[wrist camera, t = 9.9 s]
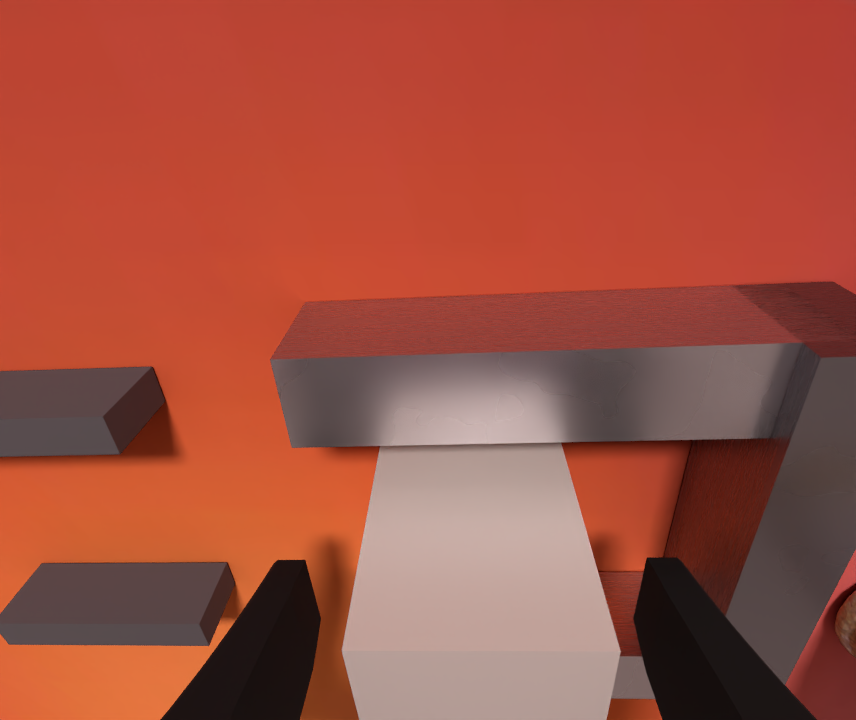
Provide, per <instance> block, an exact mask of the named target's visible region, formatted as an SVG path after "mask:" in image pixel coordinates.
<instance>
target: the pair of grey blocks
mask: <svg viewBox="0 0 856 720" xmlns="http://www.w3.org/2000/svg"><path fill="white" fill-rule="evenodd" d="M164 402H165V399H164V397H163V394H162V391H161V389H160V386H159V383H158V381H157V378H156V376H155V373H154V370H153V368H152V367H124V368H92V369H60V370H28V371H0V457H9V456H61V455H112V454H121V453H122V452H123V450H124V449H125V448H126V447H127V446H128V445H129V443H130V442H131V441H132V440H133V439H134V437H135V436H136V435H137V434H138V433H139V432H140V430H141V429H142V428H143V427H144V426H145V424H146V423H147V422H148V421H149V420H150V419H151V417H152V416H153V415H154V414H155V413H156V412H157V410H158V409H159V408H160V407H161V406H162V404H163V403H164ZM234 585H235V582H234V580H233V577H232V574H231V572H230V569H229V567H228V564H227V563H42V564H41V565H40V566H39V567H38V568H37V570H36V571H35V572H34V573H33V575H32V576H31V577H30V578H29V579H28V581H27V582H26V583H25V584H24V586H23V587H22V588H21V589H20V590H19V592H18V593H17V594H16V595H15V596H14V598H13V599H12V600H11V601H10V603H9V604H8V605H7V606H6V607H5V609H4V610H3V611H2V612H1V614H0V634H1V635H2V636H3V638H4V639H5V640H6V641H7V643H8V644H10V645H163V646H209V645H210V642H211V640H212V638H213V635H214V633H215V630H216V628H217V626H218V623H219V621H220V618H221V616H222V614H223V611H224V609H225V607H226V604H227V602H228V599H229V597H230V595H231V592H232V590H233V587H234Z"/></svg>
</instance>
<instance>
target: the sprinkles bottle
mask: <svg viewBox="0 0 856 720" xmlns="http://www.w3.org/2000/svg"><path fill="white" fill-rule="evenodd" d="M835 632H836V634H837V636H838V638H839V640H840V642H841V644H842V645H843V646H844V647H845V648H846V649H847V650H848V652H849V653H850V654H851V655H853V656H854V657H855V658H856V591H854V592H853V593H852V594H851V595H850V596H849V597H848V598H847V600H846V601H845V602H844V604H843V605H842V606H841V608H840V609H839V611H838V613H837V617H836V621H835Z"/></svg>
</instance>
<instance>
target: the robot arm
mask: <svg viewBox="0 0 856 720" xmlns="http://www.w3.org/2000/svg"><path fill="white" fill-rule="evenodd" d="M633 620H634V624H635V629H636V633H637V637H638V642H639V646H640V650H641V654H642V658H643V662H644V666H645V670H646V673H647V676H648V679H649V682H650V685H651V688H652V691H653V694H654V696H655V699H656V702H657V705H658V708H659V711H660V714H661V716H662V719H663V720H817V719H816V718H815V717H814V716H813V715H812V714H811V713H810V712H809V711H808V710H807V709H806V708H805V706H804V705H803V704H802V703H801V702H800V701H799V700H798V699H797V698H796V697H795V696H794V695H793V694H792V693H791V691H790V690H789V689H788V688H787V687H786V686H785V685H784V684H783V683H782V681H781V680H780V679H779V678H778V677H777V676H776V675H775V674H774V673H773V671H772V670H771V669H770V668H769V667H768V666H767V665H766V663H765V662H764V661H763V660H762V659H761V658H760V656H759V655H758V654H757V653H756V652H755V651H754V650H753V648H752V647H751V646H750V645H749V644H748V643H747V642H746V640H745V639H744V638H743V637H742V636H741V634H740V633H739V632H738V631H737V630H736V629H735V627H734V626H733V625H732V624H731V623H730V621H729V620H728V619H727V618H726V616H725V615H724V614H723V613H722V612H721V610H720V609H719V608H718V607H717V605H716V604H715V603H714V602H713V600H712V599H711V598H710V597H709V595H708V594H707V593H706V592H705V590H704V589H703V588H702V587H701V585H700V584H699V583H698V582H697V580H696V579H695V578H694V577H693V575H692V574H691V573H690V571H689V570H688V569H687V568H686V566H685V565H684V564H683V562H682V561H681V560H680V559H679V558H677V557H672V558H647V560H646V564H645V569H644V573H643V577H642V582H641V586H640V591H639V595H638V600H637V604H636V608H635V613H634V617H633ZM320 621H321V617H320V613H319V610H318V606H317V602H316V598H315V595H314V591H313V587H312V583H311V580H310V576H309V572H308V569H307V565H306V561H305V560H277V561H276V562H275V563H274V564H273V566H272V567H271V569H270V570H269V572H268V573H267V575H266V576H265V578H264V580H263V581H262V583H261V584H260V586H259V587H258V589H257V590H256V592H255V593H254V595H253V596H252V598H251V599H250V601H249V602H248V604H247V605H246V607H245V608H244V610H243V611H242V612H241V614H240V615H239V617H238V618H237V620H236V621H235V623H234V624H233V625H232V627H231V628H230V630H229V631H228V632H227V634H226V635H225V637H224V638H223V639H222V641H221V642H220V643H219V645H218V646H217V648H216V649H215V650H214V652H213V653H212V655H211V656H210V657H209V659H208V660H207V661H206V663H205V664H204V665H203V667H202V668H201V669H200V671H199V672H198V673H197V675H196V676H195V677H194V678H193V680H192V681H191V682H190V683H189V685H188V686H187V687H186V689H185V690H184V691H183V692H182V694H181V695H180V696H179V697H178V699H177V700H176V701H175V703H174V704H173V705H172V706H171V708H170V709H169V710H168V711H167V713H166V714H165V715H164V716H163V717H162V719H161V720H300V716H301V712H302V709H303V705H304V701H305V697H306V693H307V690H308V686H309V682H310V678H311V674H312V670H313V665H314V659H315V653H316V647H317V641H318V634H319V627H320Z"/></svg>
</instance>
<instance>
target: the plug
mask: <svg viewBox="0 0 856 720" xmlns="http://www.w3.org/2000/svg"><path fill="white" fill-rule="evenodd" d="M620 653H621V651H620V647H619V644H618V640H617V637H616V633H615V630H614V626H613V623H612V619H611V616H610V612H609V609H608V605H607V602H606V598H605V595H604V591H603V588H602V584H601V581H600V577H599V574H598V570H597V567H596V563H595V560H594V556H593V553H592V549H591V546H590V542H589V539H588V535H587V532H586V528H585V525H584V521H583V518H582V514H581V511H580V507H579V504H578V500H577V497H576V493H575V490H574V486H573V483H572V479H571V476H570V472H569V469H568V465H567V462H566V458H565V455H564V451H563V448H562V444H561V442H552V443H502V444H452V445H401V446H380V449H379V455H378V460H377V465H376V471H375V476H374V481H373V487H372V492H371V497H370V503H369V508H368V513H367V519H366V524H365V529H364V535H363V540H362V545H361V551H360V556H359V561H358V567H357V572H356V577H355V582H354V588H353V593H352V598H351V604H350V609H349V614H348V620H347V625H346V630H345V636H344V641H343V646H342V654H343V658H344V662H345V666H346V670H347V674H348V678H349V682H350V686H351V689H352V693H353V697H354V701H355V705H356V709H357V713H358V717H359V720H607V715H608V710H609V706H610V701H611V696H612V691H613V686H614V682H615V677H616V672H617V667H618V662H619V658H620Z"/></svg>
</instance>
